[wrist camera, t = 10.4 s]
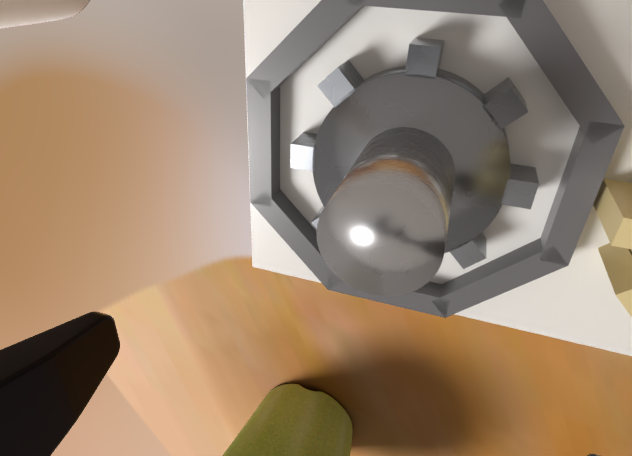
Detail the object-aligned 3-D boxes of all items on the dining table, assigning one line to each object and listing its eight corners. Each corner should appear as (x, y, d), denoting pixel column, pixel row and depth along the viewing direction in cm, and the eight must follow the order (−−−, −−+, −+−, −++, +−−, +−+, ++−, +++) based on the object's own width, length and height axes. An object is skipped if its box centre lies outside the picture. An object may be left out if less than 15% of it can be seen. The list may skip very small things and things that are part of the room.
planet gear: (571, 51, 15) (619, 103, 9) (500, 276, 19) (505, 397, 14) (306, 27, 17) (222, 57, 12) (300, 234, 21) (238, 324, 16)
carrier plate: (1035, -15, 12) (1261, -6, 8) (748, 364, 19) (805, 454, 16) (255, -53, 17) (197, -57, 14) (262, 254, 24) (224, 302, 21)
